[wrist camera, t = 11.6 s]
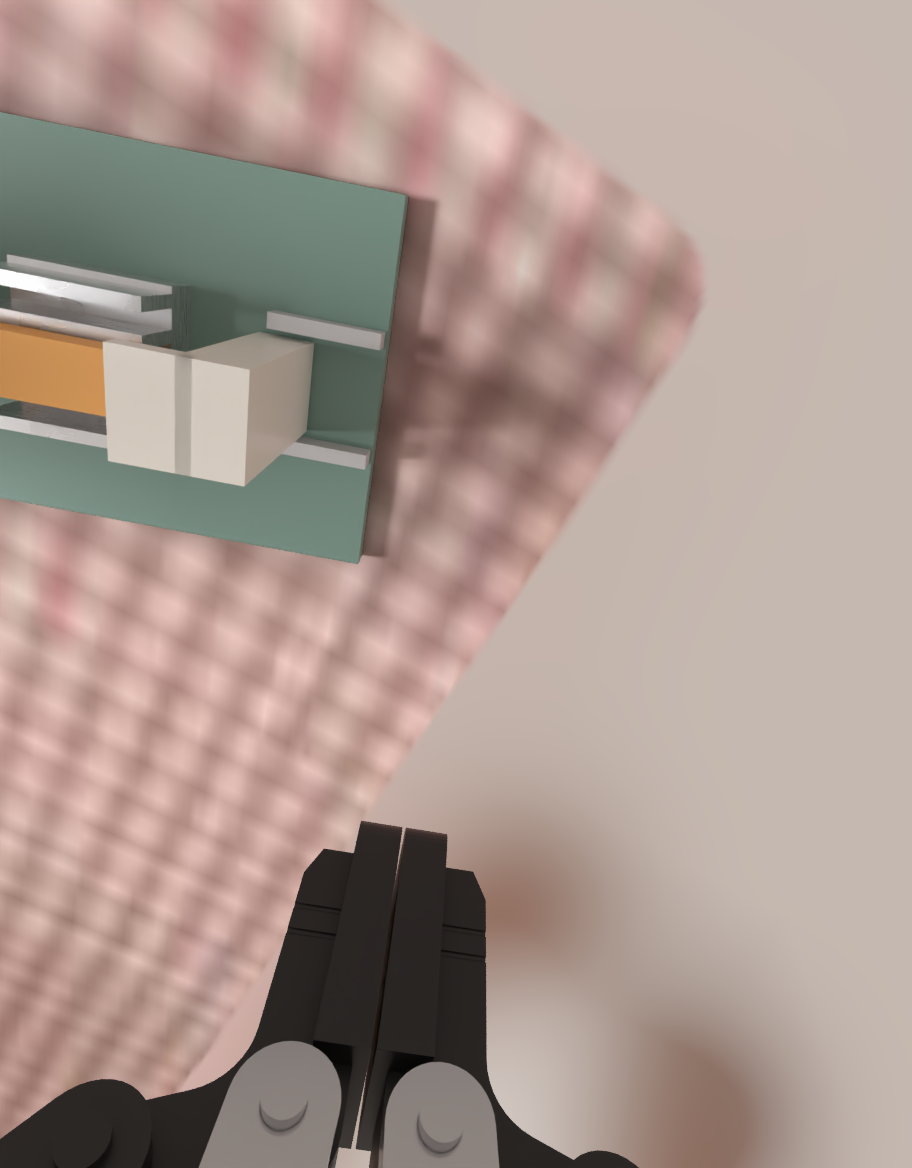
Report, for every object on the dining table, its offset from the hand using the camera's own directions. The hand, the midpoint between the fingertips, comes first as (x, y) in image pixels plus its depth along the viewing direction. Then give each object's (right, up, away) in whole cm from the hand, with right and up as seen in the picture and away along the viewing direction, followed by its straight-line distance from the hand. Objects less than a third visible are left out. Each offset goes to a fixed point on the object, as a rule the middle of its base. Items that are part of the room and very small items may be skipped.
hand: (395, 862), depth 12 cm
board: (-11, +15, +17) cm, 25 cm away
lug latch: (-7, +13, +16) cm, 22 cm away
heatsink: (-13, +15, +17) cm, 26 cm away
